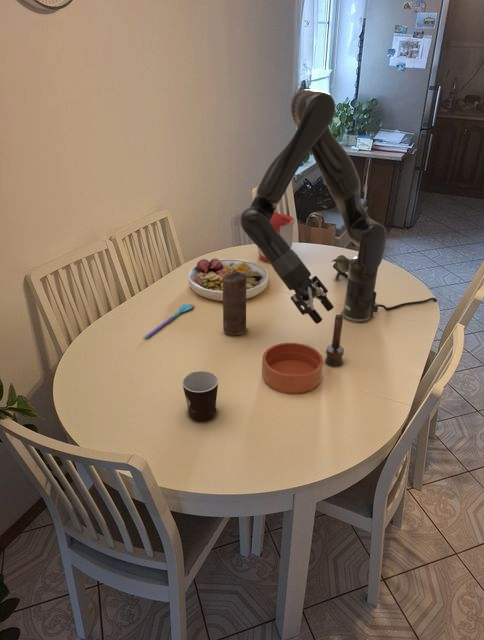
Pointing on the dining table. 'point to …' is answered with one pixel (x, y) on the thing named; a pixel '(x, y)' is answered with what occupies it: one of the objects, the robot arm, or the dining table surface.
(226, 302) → the candle
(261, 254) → the citrus juicer
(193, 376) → the coffee mug
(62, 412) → the dining table surface
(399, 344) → the dining table surface
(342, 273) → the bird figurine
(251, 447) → the dining table surface
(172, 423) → the dining table surface
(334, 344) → the tamper
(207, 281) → the bowl
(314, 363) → the basin
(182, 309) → the spoon
